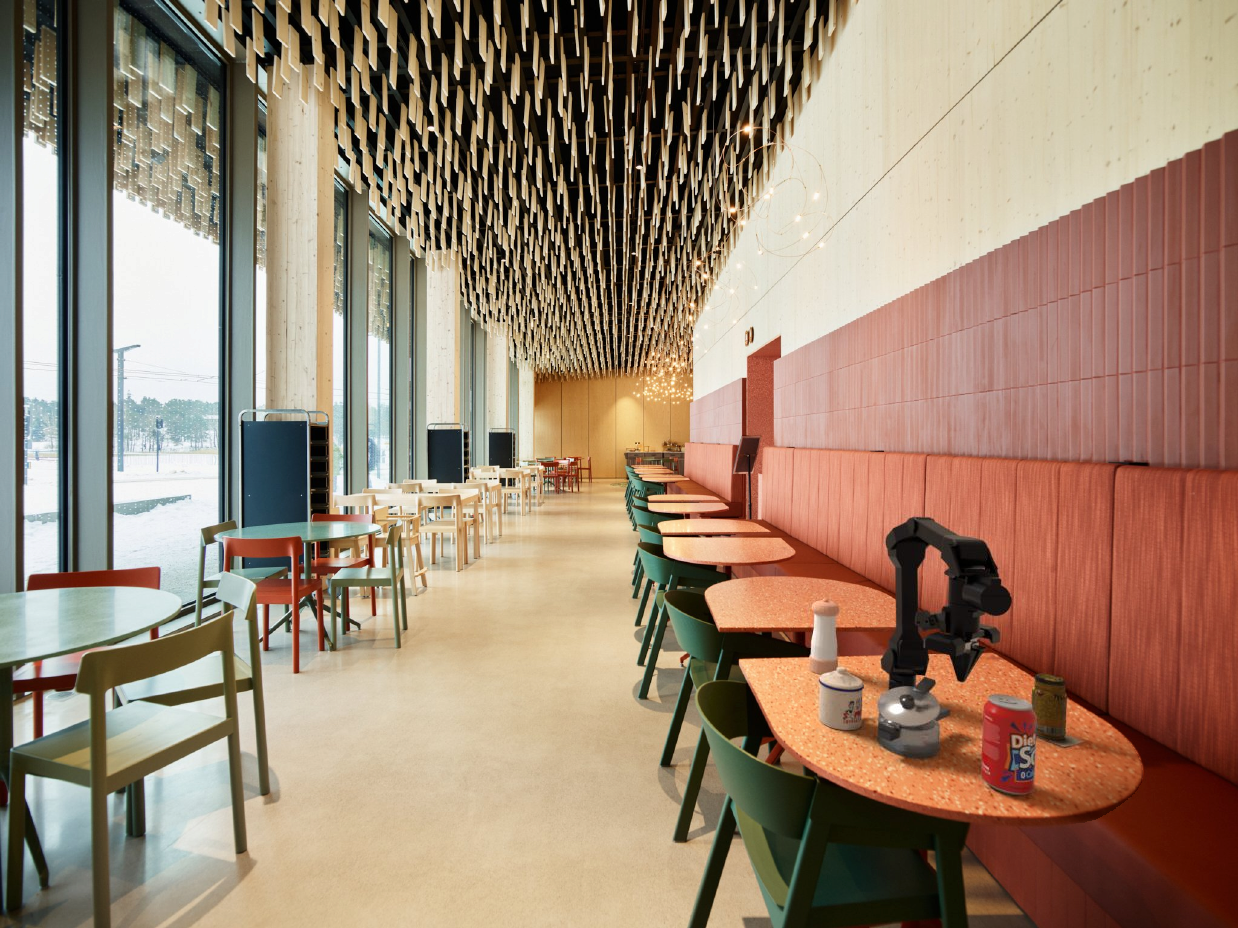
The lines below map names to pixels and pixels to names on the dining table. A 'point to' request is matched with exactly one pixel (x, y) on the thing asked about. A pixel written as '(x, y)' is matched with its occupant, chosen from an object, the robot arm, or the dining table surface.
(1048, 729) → the condiment
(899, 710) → the lid
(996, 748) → the soda can
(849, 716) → the teacup with lid
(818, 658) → the pepper shaker
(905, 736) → the pot
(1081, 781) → the dining table surface
